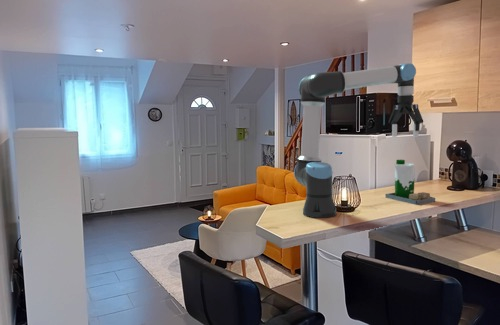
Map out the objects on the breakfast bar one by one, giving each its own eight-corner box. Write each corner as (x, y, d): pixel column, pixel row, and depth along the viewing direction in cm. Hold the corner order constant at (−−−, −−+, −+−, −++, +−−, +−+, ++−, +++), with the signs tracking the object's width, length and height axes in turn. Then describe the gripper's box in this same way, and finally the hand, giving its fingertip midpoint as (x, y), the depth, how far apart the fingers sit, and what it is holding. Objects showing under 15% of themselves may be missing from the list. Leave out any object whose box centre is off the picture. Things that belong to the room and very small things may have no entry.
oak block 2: (424, 202, 188) (424, 194, 187) (417, 200, 191) (417, 193, 191) (429, 201, 189) (429, 193, 189) (423, 199, 193) (423, 192, 193)
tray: (416, 205, 184) (416, 200, 183) (385, 198, 202) (385, 193, 201) (435, 202, 189) (435, 197, 189) (403, 195, 207) (403, 191, 207)
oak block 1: (416, 203, 186) (417, 195, 185) (409, 202, 189) (409, 194, 188) (420, 202, 188) (420, 194, 188) (412, 201, 191) (413, 193, 191)
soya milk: (398, 195, 204) (398, 158, 202) (415, 197, 199) (416, 159, 196) (392, 198, 198) (393, 160, 195) (410, 200, 192) (411, 161, 190)
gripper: (431, 93, 182) (430, 137, 185) (392, 96, 205) (391, 135, 207) (420, 93, 179) (419, 138, 182) (381, 96, 202) (381, 136, 204)
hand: (404, 137), depth 195 cm, fingers open, 13 cm apart
